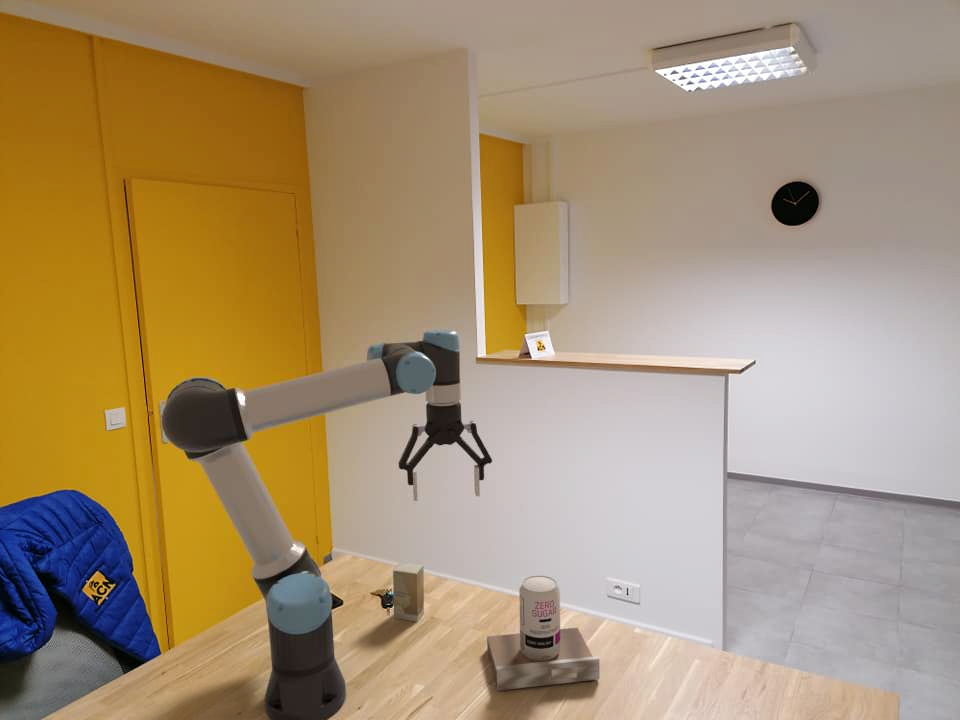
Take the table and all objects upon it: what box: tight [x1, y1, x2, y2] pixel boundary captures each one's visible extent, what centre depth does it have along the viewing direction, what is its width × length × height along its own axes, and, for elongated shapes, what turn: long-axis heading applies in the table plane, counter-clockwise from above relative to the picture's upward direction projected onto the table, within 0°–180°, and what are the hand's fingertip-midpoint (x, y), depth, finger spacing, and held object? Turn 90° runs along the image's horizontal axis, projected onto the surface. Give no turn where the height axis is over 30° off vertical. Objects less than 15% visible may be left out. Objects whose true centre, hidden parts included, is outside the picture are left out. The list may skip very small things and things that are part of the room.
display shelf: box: [486, 627, 600, 691], centre depth 144 cm, size 20×15×5 cm
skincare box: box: [392, 562, 425, 622], centre depth 164 cm, size 6×4×12 cm
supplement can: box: [518, 574, 561, 661], centre depth 143 cm, size 8×8×15 cm
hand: (446, 496), depth 153 cm, fingers open, 13 cm apart
